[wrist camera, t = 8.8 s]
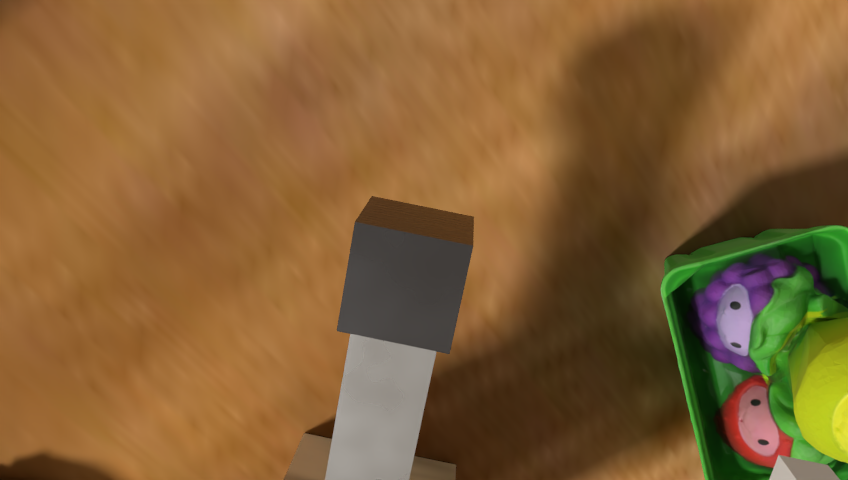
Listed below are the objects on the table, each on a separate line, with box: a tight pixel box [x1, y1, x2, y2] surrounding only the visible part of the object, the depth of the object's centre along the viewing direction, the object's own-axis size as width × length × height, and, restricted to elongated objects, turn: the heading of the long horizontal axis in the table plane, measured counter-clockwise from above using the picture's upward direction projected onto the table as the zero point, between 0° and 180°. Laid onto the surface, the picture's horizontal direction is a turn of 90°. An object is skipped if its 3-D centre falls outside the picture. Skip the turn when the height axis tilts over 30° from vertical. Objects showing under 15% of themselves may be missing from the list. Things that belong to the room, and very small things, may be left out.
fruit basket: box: [661, 225, 848, 480], centre depth 28 cm, size 11×9×11 cm
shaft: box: [325, 196, 474, 480], centre depth 26 cm, size 17×4×4 cm, turn 169°
